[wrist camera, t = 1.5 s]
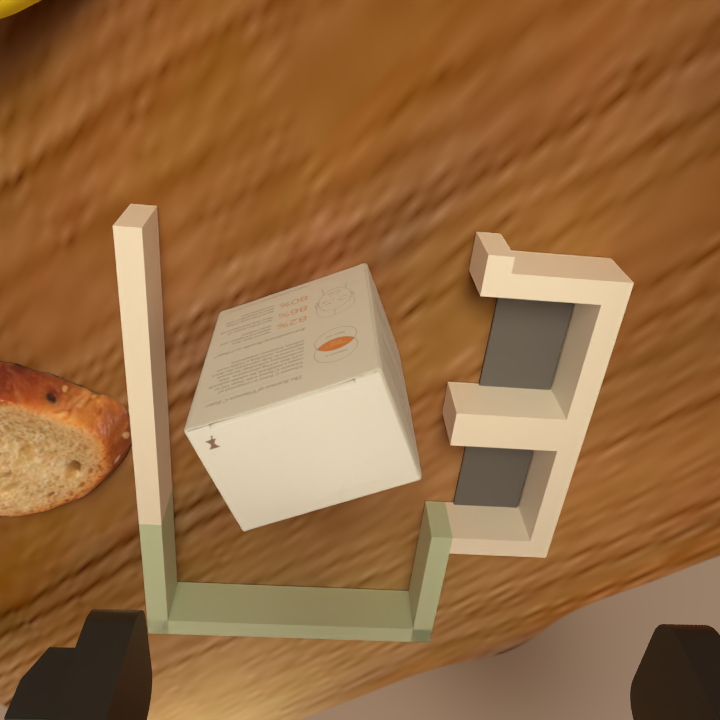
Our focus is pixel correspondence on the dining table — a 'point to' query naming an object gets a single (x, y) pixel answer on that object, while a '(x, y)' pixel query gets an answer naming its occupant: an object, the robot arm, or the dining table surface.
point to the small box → (304, 402)
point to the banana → (14, 6)
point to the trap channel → (463, 424)
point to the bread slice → (55, 440)
